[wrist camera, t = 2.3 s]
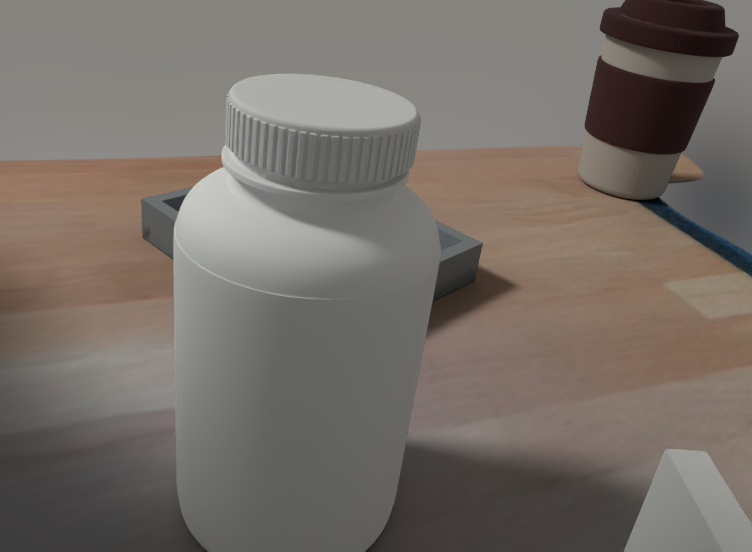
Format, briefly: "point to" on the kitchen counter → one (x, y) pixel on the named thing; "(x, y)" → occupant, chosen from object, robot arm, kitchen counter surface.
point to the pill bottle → (300, 317)
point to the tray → (455, 246)
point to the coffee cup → (650, 92)
